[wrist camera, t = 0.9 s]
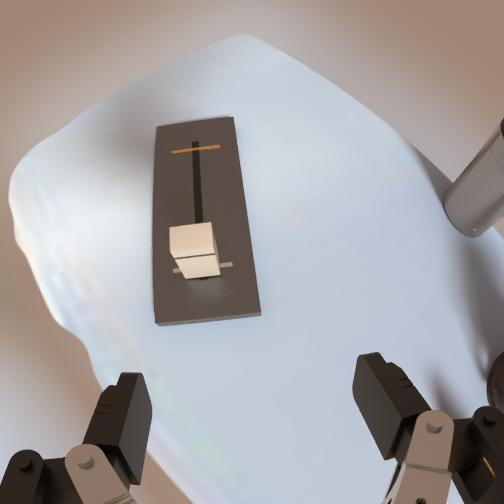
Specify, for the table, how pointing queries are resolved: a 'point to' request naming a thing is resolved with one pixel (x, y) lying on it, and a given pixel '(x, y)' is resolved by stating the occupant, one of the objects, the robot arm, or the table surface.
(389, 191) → the table surface
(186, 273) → the fader cap
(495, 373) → the lantern
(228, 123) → the grey fader track base
